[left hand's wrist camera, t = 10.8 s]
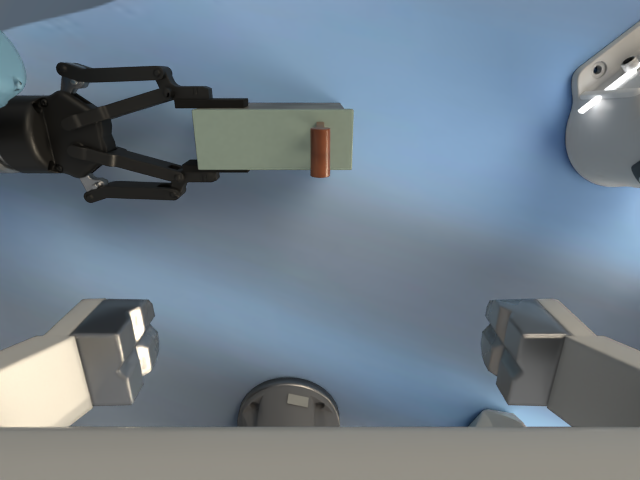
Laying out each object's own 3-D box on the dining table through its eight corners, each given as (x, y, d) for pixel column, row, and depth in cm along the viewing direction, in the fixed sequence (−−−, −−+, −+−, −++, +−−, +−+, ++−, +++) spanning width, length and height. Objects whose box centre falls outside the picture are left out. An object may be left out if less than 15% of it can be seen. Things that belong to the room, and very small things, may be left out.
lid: (352, 108, 38) (360, 117, 31) (350, 167, 40) (358, 188, 33) (195, 108, 38) (164, 117, 31) (201, 166, 40) (174, 188, 33)
